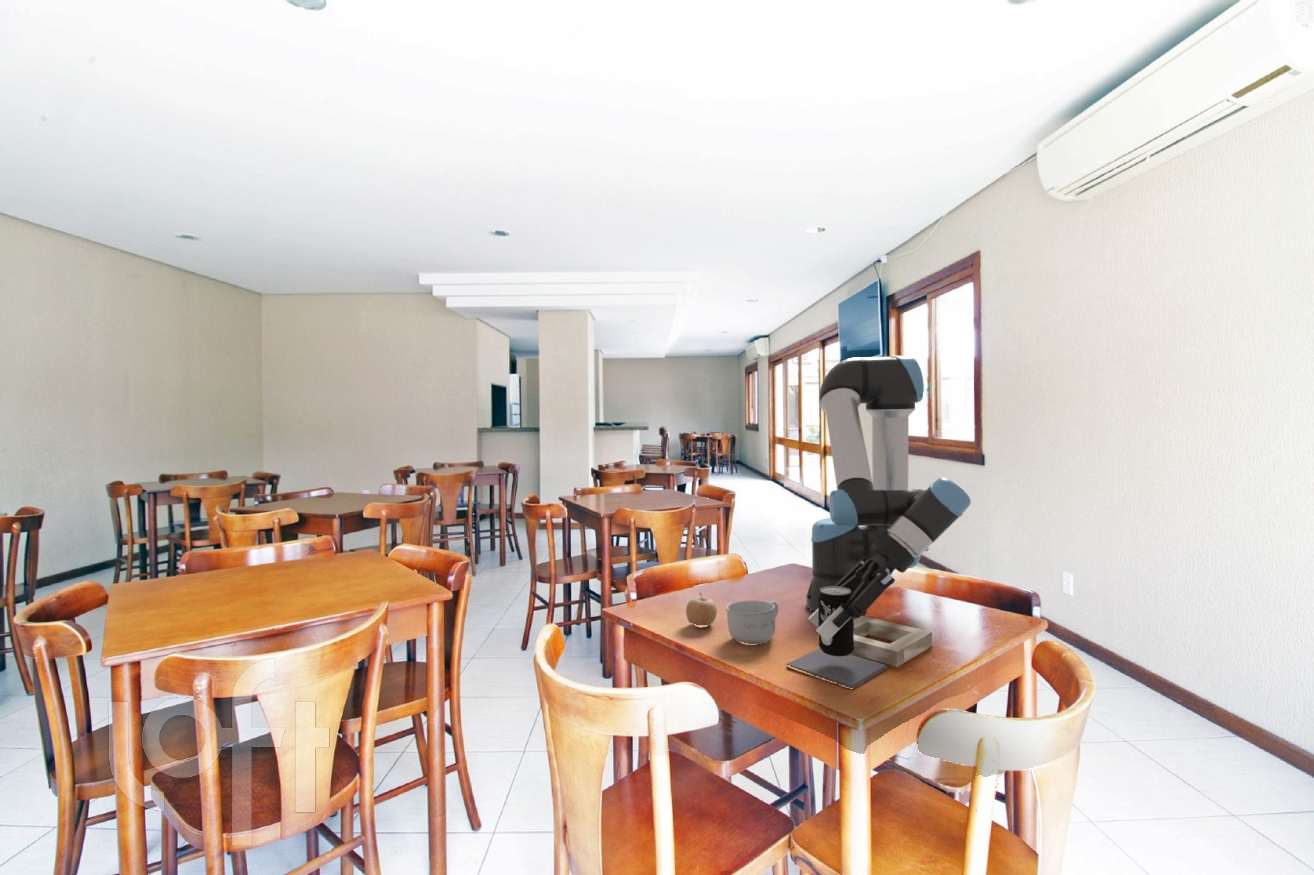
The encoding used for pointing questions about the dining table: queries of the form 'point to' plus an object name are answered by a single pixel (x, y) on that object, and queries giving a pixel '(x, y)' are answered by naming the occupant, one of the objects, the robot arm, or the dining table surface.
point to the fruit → (701, 611)
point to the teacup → (752, 620)
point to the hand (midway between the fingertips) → (817, 629)
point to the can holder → (904, 638)
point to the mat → (838, 667)
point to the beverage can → (827, 606)
